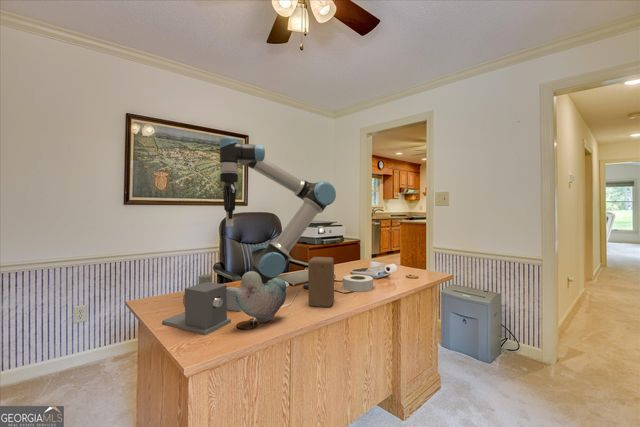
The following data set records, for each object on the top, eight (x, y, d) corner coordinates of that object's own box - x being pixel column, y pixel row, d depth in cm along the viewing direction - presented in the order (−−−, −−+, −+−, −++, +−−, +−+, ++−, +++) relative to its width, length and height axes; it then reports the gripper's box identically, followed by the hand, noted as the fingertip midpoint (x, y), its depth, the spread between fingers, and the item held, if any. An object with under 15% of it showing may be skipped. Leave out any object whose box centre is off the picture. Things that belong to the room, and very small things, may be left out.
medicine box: (246, 308, 125) (245, 288, 125) (239, 312, 121) (239, 291, 121) (230, 306, 128) (230, 286, 128) (223, 309, 124) (223, 289, 124)
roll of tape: (343, 283, 165) (343, 273, 165) (371, 284, 163) (372, 274, 163) (342, 291, 150) (342, 280, 149) (373, 292, 148) (373, 281, 148)
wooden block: (330, 308, 125) (330, 261, 125) (307, 306, 127) (307, 260, 127) (334, 300, 135) (334, 257, 134) (313, 299, 137) (312, 256, 136)
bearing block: (162, 323, 109) (161, 285, 109) (189, 313, 120) (188, 278, 120) (205, 335, 100) (205, 293, 99) (230, 322, 110) (230, 284, 110)
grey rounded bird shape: (279, 312, 120) (279, 263, 120) (292, 319, 113) (292, 267, 113) (230, 326, 107) (230, 271, 106) (241, 334, 100) (241, 275, 99)
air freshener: (217, 292, 148) (217, 272, 148) (217, 297, 141) (216, 276, 140) (193, 294, 145) (193, 274, 145) (192, 299, 137) (192, 278, 137)
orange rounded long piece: (183, 311, 107) (182, 289, 107) (200, 304, 114) (200, 284, 114) (211, 317, 101) (210, 294, 101) (227, 310, 108) (227, 288, 108)
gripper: (216, 174, 134) (217, 225, 135) (224, 171, 123) (225, 227, 124) (232, 174, 138) (233, 225, 139) (242, 172, 128) (242, 226, 128)
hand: (229, 226), depth 132 cm, fingers closed
